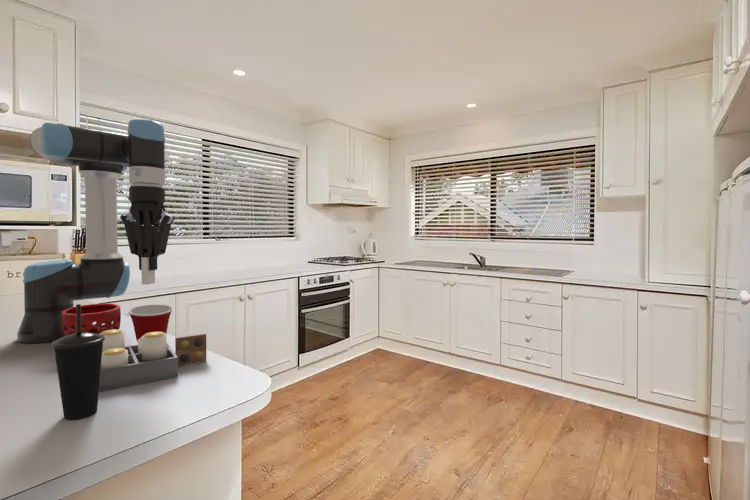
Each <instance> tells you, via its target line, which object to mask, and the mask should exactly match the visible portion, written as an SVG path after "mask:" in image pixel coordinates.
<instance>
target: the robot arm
mask: <svg viewBox="0 0 750 500" xmlns="http://www.w3.org/2000/svg"><path fill="white" fill-rule="evenodd" d="M165 141H166V138H165V128H164V126H163V124H161V122H158V121H156V120H152V119H147V118H146V119H145V118H133V119H131V120H129V122H128V126H127V134H124V133H123V134H122V133H118V132H110V131H105V130H99V129H97V130H96V129H92V128H91V129H90V128H85V127H81V126H75V125H74V126H73V125H67V124H63V123H58V122H57V123H54V122H44V123H43V124H42V126H40V127H38V128H36V129H34V130H33V131H32V132H31V134H30V137H29V144H30V147H31V150H33V152H34V153H35V154H37V155H38V156H40V157H41V158H43V159H45V160H47V161H51V162H54V163H55V164H61V165H67V166H73V167H78V173H79V174H80V175H81V176H82V177H83V178H84V198H85V199H84V203H85V205H84V206H85V253H84V254H83V255H82V256H80V263H74V261H73V260H72V259H69V258H68V259H57V260H49V261H48V260H47V261H41V262H36V263H33V264H32V263H31V264H29V265H27V266H26V267H25V268H24V271H23V280H22V283H23V292H24V293H23V296H24V301H23V302H24V303H23V304H24V306H23V307H24V315H23V317H22V319H21V323H20V326H19V328H18V331H17V333H16V334H17V342H18V343H22V344H40V343H50V342H54V341H55V340H58V339H60V338H62V337H64V336H65V334H64V331H63V325H62V311H64V310H66V309H68V308H72V307H74V301H81V300H83V301H84V300H93V299H104V298H105V299H106V298H107V299H110V298H113V297H115V298H116V297H121V296H122V295H124V294H125V293H126V291H127V289H128V286H129V282H130V277H131V269H130V264H129V262H127V261H124V256H123V255H122V254H121V253H119V251H118V250H119V249H118V248H119V247H118V199H117V198H118V194H117V192H118V191H117V190H118V188H117V182H118V180H119V179H120V178H121V177H122V173H123V172H124V171H127V170H128V182H129V184H130V185H131V186H129V187H128V194H129V195H128V196H129V197H128V198H129V201H130V207H129V212H127V213H126V214H121V215H120V220H121V221H122V223H123V224H124V229H125V230H124V231H125V233H126V238H127V242H128V247H129V250H130V253H131V255H135V256H136V257H138V269H139V271H141V285H153V284H156V271H157V270H158V257H159V256H162V255H165V253H166V251H167V246H168V240H169V236H170V233H171V227H172V224H173V223H174V221H175V220H176V217H175V215H170V214H169V213H167V212H166V208H165V204H164V203H165V202H166V189H165V188H164V186H166V177H165V176H166V170H165V169H166V168H165V166H166V165H165V162H166V161H165V151H166V150H165V146H166V145H165V144H166V143H165Z"/></svg>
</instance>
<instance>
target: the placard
mask: <svg viewBox="0 0 750 500" xmlns="http://www.w3.org/2000/svg"><path fill="white" fill-rule="evenodd" d="M174 340H175V341H174V343H175V344H174V345H175V346H174V347H175V349H174V353H175V354H176V355H177V357H178V367H181V366H182V365H183V366H187V365H186V364H188V365H192V364H191V363H194V364H198V363H197V362H200V363H204V362H203V361H205V362H207V333H199V334H191V335H184V336H176V337H175V339H174Z"/></svg>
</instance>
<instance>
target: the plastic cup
mask: <svg viewBox="0 0 750 500" xmlns="http://www.w3.org/2000/svg"><path fill="white" fill-rule="evenodd" d="M173 310H174V307H173V306H172V305H169V304H160V303H159V304H157V303H156V304H144V305H138V306H134V307H132V308H129V309H128V310H127V312H128V314H129V316H130V318H131V321H132V324H133V330H134V334H135V335H134V336H135V339H136V342H137V344H138V339H140V338H141V337H142V336H143V335H144V334H146V333H150V332H164V333H166V334H167V333H168V327H169V321H170V318H171V315H172V312H173ZM167 335H168V334H167Z"/></svg>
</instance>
